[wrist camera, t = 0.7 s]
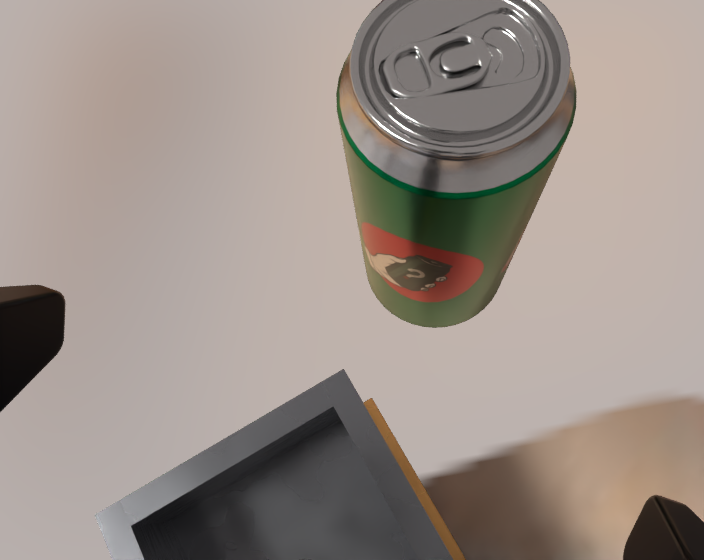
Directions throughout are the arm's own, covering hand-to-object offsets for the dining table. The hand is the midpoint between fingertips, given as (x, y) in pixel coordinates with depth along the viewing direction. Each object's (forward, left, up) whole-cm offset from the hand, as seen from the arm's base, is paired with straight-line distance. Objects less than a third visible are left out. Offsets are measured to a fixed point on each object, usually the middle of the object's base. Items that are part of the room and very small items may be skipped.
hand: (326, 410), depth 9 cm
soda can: (+6, +5, -13) cm, 15 cm away
